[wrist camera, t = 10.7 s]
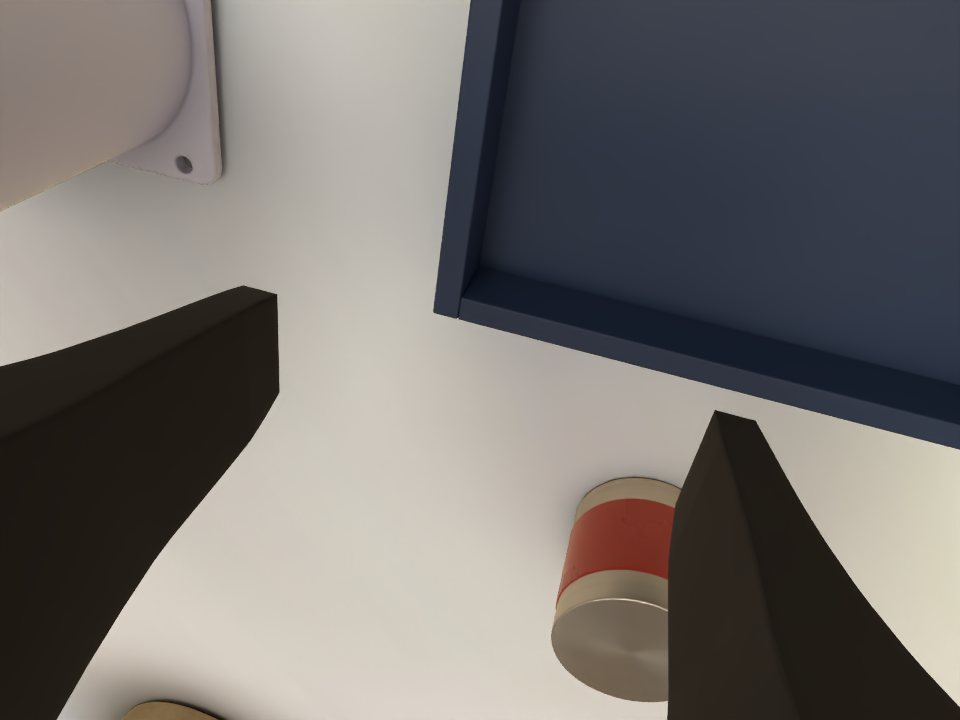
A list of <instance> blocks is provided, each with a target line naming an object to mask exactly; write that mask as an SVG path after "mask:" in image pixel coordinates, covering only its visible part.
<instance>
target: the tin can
mask: <svg viewBox="0 0 960 720" xmlns="http://www.w3.org/2000/svg"><path fill="white" fill-rule="evenodd" d="M680 492H681V490H680V489H679V488H677V487H675V486H672V485H670V484H667V483H664V482H661V481H657V480H652V479H645V478H625V479H618V480H614V481H610V482H607V483H604V484H602V485H600V486H598V487H596V488H595V489H593V490H592V491H591V492H589V493H588V494H587V495H586V496H585V497H584V499H583V500H582V501H581V503H580V504H579V506H578V509H577V512H576V515H575V520H574V525H573V528H572V531H571V534H570V539H569V543H568V548H567V553H566V558H565V563H564V568H563V572H562V577H561V582H560V587H559V592H558V597H557V602H556V613H555V618H554V623H553V628H552V634H551V640H552V646H553V649H554V652H555V654H556V656H557V658H558V660H559V661H560V663H561V664H562V665H563V666H564V668H565V669H566V670H567V671H568V672H569V673H570V674H572V675H573V676H574V677H575V678H577V679H578V680H579V681H581V682H582V683H584V684H586V685H587V686H589V687H591V688H593V689H595V690H597V691H599V692H602V693H604V694H607V695H610V696H613V697H617V698H621V699H625V700H631V701H639V702H663V701H668V557H669V549H670V541H671V533H672V525H673V518H674V511H675V504H676V501H677V499H678V497H679V494H680Z"/></svg>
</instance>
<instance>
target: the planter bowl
mask: <svg viewBox="0 0 960 720" xmlns="http://www.w3.org/2000/svg"><path fill="white" fill-rule="evenodd" d="M122 720H217V719H215V718H213V717H211V716H209V715H207V714H204V713H202V712H199V711H197V710H194V709H192V708H189V707H185V706H182V705H177V704H173V703H167V702H147V703H143V704H140V705H137V706H135V707H134V708H132V709H131V710H130V711H129V712H128V713H127V714H126V715H125V716H124V717H123V718H122Z"/></svg>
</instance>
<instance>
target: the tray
mask: <svg viewBox="0 0 960 720" xmlns="http://www.w3.org/2000/svg"><path fill="white" fill-rule="evenodd" d="M433 311H434V313H436V314H440V315H444V316H448V317H451V318H455V319H457V318H459V319H460V320H464V321H467V322H471V323H475V324H479V325H483V326H487V327H490V328H494V329H498V330H502V331H506V332H510V333H514V334H517V335H521V336H525V337H529V338H533V339H537V340H540V341H544V342H548V343H552V344H556V345H560V346H564V347H567V348H571V349H575V350H579V351H583V352H587V353H590V354H594V355H598V356H602V357H606V358H610V359H614V360H617V361H621V362H625V363H629V364H633V365H637V366H640V367H644V368H648V369H652V370H656V371H660V372H663V373H667V374H671V375H675V376H679V377H683V378H687V379H690V380H694V381H698V382H702V383H706V384H710V385H713V386H717V387H721V388H725V389H729V390H733V391H737V392H740V393H744V394H748V395H752V396H756V397H760V398H763V399H767V400H771V401H775V402H779V403H783V404H787V405H790V406H794V407H798V408H802V409H806V410H810V411H813V412H817V413H821V414H825V415H829V416H833V417H836V418H840V419H844V420H848V421H852V422H856V423H860V424H863V425H867V426H871V427H875V428H879V429H883V430H886V431H890V432H894V433H898V434H902V435H906V436H910V437H913V438H917V439H921V440H925V441H929V442H933V443H936V444H940V445H944V446H948V447H952V448H956V449H960V0H471V3H470V11H469V20H468V28H467V36H466V45H465V53H464V61H463V69H462V78H461V86H460V94H459V103H458V111H457V119H456V127H455V136H454V144H453V152H452V161H451V169H450V177H449V185H448V194H447V202H446V210H445V219H444V227H443V235H442V243H441V252H440V260H439V268H438V277H437V285H436V293H435V302H434V310H433Z"/></svg>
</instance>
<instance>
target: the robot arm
mask: <svg viewBox="0 0 960 720" xmlns="http://www.w3.org/2000/svg"><path fill="white" fill-rule="evenodd" d="M184 157H186V158H188V159H189V160H190V162H191V164H192V169H191V168H189V167H188V166H187V165H186V164H185V161H184ZM106 161H109V162H113V163H117V164H121V165H125V166H129V167H133V168H138V169H142V170H146V171H150V172H154V173H158V174H162V175H166V176H170V177H174V178H178V179H182V180H186V181H190V182H194V183H198V184H204V185H208V184H210V183H213V182H214V181H216V180H217V179H219V177H220V176H221V173H222V161H221V146H220V131H219V116H218V101H217V86H216V71H215V56H214V41H213V26H212V11H211V0H0V211H2V210H4V209H6V208H9V207H11V206H13V205H15V204H17V203H19V202H21V201H23V200H25V199H28V198H30V197H32V196H34V195H36V194H38V193H40V192H42V191H44V190H47V189H49V188H51V187H53V186H55V185H57V184H59V183H61V182H63V181H66V180H68V179H70V178H72V177H74V176H76V175H78V174H80V173H82V172H85V171H87V170H89V169H91V168H93V167H95V166H97V165H99V164H101V163H104V162H106ZM278 394H279V350H278V308H277V294H274V293H270V292H266V291H262V290H259V289H255V288H251V287H247V286H244V285H243V286H240V287H236V288H233V289H230V290H227V291H224V292H221V293H218V294H215V295H212V296H210V297H207V298H204V299H202V300H199V301H196V302H194V303H191V304H188V305H186V306H183V307H181V308H178V309H175V310H173V311H170V312H167V313H165V314H162V315H160V316H157V317H154V318H152V319H149V320H146V321H144V322H141V323H138V324H136V325H133V326H130V327H128V328H125V329H122V330H119V331H116V332H113V333H110V334H107V335H104V336H101V337H98V338H95V339H92V340H89V341H86V342H83V343H80V344H77V345H74V346H71V347H68V348H65V349H62V350H59V351H56V352H52V353H49V354H46V355H42V356H38V357H35V358H31V359H28V360H24V361H20V362H16V363H12V364H8V365H4V366H0V720H57V718H58V716H59V714H60V713H61V711H62V709H63V707H64V706H65V704H66V702H67V701H68V699H69V697H70V695H71V694H72V692H73V690H74V688H75V687H76V685H77V683H78V681H79V680H80V678H81V676H82V674H83V673H84V671H85V669H86V667H87V666H88V664H89V662H90V661H91V659H92V658H93V656H94V654H95V653H96V651H97V649H98V648H99V646H100V645H101V643H102V641H103V640H104V638H105V636H106V635H107V633H108V632H109V630H110V628H111V627H112V625H113V624H114V622H115V620H116V619H117V617H118V615H119V614H120V612H121V611H122V609H123V607H124V606H125V604H126V603H127V601H128V600H129V598H130V597H131V595H132V594H133V592H134V591H135V589H136V588H137V586H138V585H139V583H140V582H141V580H142V578H143V577H144V575H145V574H146V572H147V571H148V569H149V568H150V566H151V565H152V563H153V562H154V560H155V559H156V558H157V556H158V555H159V554H160V552H161V551H162V550H163V548H164V547H165V546H166V544H167V543H168V542H169V540H170V539H171V538H172V536H173V535H174V534H175V533H176V531H177V530H178V529H179V528H180V527H181V525H182V524H183V523H184V522H185V520H186V519H187V518H188V517H189V516H190V514H191V513H192V512H193V511H194V510H195V508H196V507H197V506H198V505H199V503H200V502H201V501H202V500H203V499H204V497H205V496H206V495H207V494H208V492H209V491H210V490H211V489H212V488H213V486H214V485H215V484H216V483H217V482H218V480H219V479H220V478H221V477H222V475H223V474H224V473H225V472H226V471H227V469H228V468H229V467H230V466H231V464H232V463H233V462H234V461H235V459H236V458H237V457H238V456H239V454H240V453H241V452H242V451H243V449H244V448H245V447H246V446H247V444H248V443H249V442H250V440H251V439H252V437H253V436H254V434H255V433H256V431H257V429H258V428H259V426H260V425H261V423H262V421H263V420H264V418H265V417H266V415H267V413H268V411H269V410H270V408H271V406H272V404H273V403H274V401H275V399H276V397H277V396H278ZM667 720H960V707H959V706H958V705H957V704H956V703H955V702H954V701H953V700H952V699H951V698H950V696H949V695H948V694H947V693H946V692H945V691H944V690H943V689H942V688H941V687H940V686H939V685H938V684H937V683H936V682H935V680H934V679H933V678H932V677H931V676H930V675H929V674H928V673H927V672H926V671H925V670H924V668H923V667H922V666H921V665H920V664H919V663H918V662H917V661H916V659H915V658H914V657H913V656H912V655H911V654H910V653H909V651H908V650H907V649H906V648H905V647H904V646H903V644H902V643H901V642H900V641H899V639H898V638H897V637H896V636H895V634H894V633H893V632H892V631H891V630H890V628H889V627H888V626H887V625H886V623H885V622H884V621H883V620H882V618H881V617H880V616H879V615H878V614H877V612H876V611H875V610H874V609H873V607H872V606H871V605H870V604H869V602H868V601H867V600H866V598H865V597H864V596H863V594H862V593H861V592H860V590H859V589H858V588H857V586H856V585H855V584H854V582H853V581H852V579H851V578H850V576H849V575H848V574H847V572H846V571H845V569H844V568H843V566H842V565H841V564H840V562H839V561H838V559H837V558H836V556H835V555H834V553H833V552H832V551H831V549H830V548H829V546H828V545H827V543H826V542H825V540H824V538H823V537H822V535H821V534H820V532H819V531H818V529H817V528H816V526H815V524H814V523H813V521H812V520H811V518H810V516H809V515H808V513H807V511H806V510H805V508H804V506H803V505H802V503H801V501H800V500H799V498H798V496H797V495H796V493H795V491H794V489H793V488H792V486H791V484H790V482H789V480H788V479H787V477H786V475H785V473H784V472H783V470H782V468H781V466H780V464H779V463H778V461H777V459H776V457H775V455H774V453H773V452H772V450H771V448H770V446H769V444H768V442H767V441H766V439H765V437H764V435H763V433H762V432H761V430H760V428H759V426H758V425H757V423H756V421H754V420H750V419H747V418H743V417H739V416H735V415H732V414H728V413H724V412H720V411H716V410H715V411H714V413H713V416H712V418H711V421H710V423H709V425H708V428H707V430H706V432H705V435H704V437H703V440H702V442H701V444H700V447H699V449H698V452H697V454H696V456H695V459H694V461H693V463H692V466H691V468H690V471H689V473H688V475H687V478H686V480H685V482H684V485H683V487H682V490H681V492H680V494H679V497H678V499H677V501H676V504H675V511H674V518H673V525H672V533H671V541H670V549H669V557H668V716H667Z"/></svg>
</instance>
